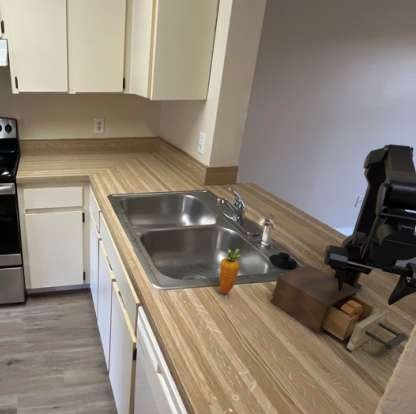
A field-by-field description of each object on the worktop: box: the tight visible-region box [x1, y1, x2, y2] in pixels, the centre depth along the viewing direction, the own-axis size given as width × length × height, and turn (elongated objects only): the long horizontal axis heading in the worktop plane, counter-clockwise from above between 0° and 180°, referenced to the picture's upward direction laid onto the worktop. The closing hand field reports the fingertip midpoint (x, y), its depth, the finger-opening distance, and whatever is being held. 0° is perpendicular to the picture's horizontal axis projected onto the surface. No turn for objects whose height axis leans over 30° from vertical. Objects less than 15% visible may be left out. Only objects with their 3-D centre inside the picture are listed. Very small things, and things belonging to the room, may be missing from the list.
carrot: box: [219, 248, 242, 295], centre depth 92 cm, size 5×5×15 cm
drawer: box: [322, 295, 408, 352], centre depth 78 cm, size 17×12×7 cm
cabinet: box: [270, 263, 359, 334], centre depth 87 cm, size 13×13×9 cm
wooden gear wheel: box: [340, 300, 363, 325], centre depth 80 cm, size 6×6×2 cm
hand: (363, 296), depth 76 cm, fingers open, 9 cm apart
